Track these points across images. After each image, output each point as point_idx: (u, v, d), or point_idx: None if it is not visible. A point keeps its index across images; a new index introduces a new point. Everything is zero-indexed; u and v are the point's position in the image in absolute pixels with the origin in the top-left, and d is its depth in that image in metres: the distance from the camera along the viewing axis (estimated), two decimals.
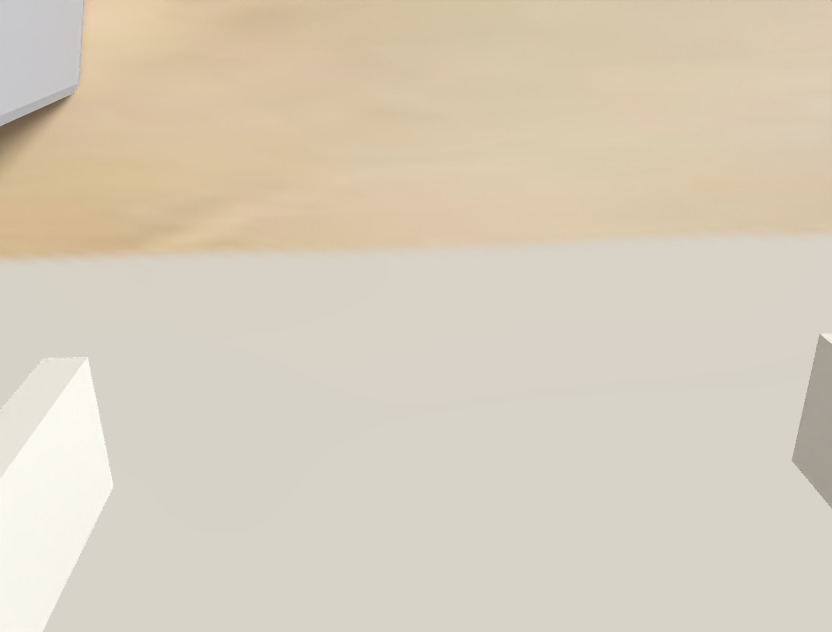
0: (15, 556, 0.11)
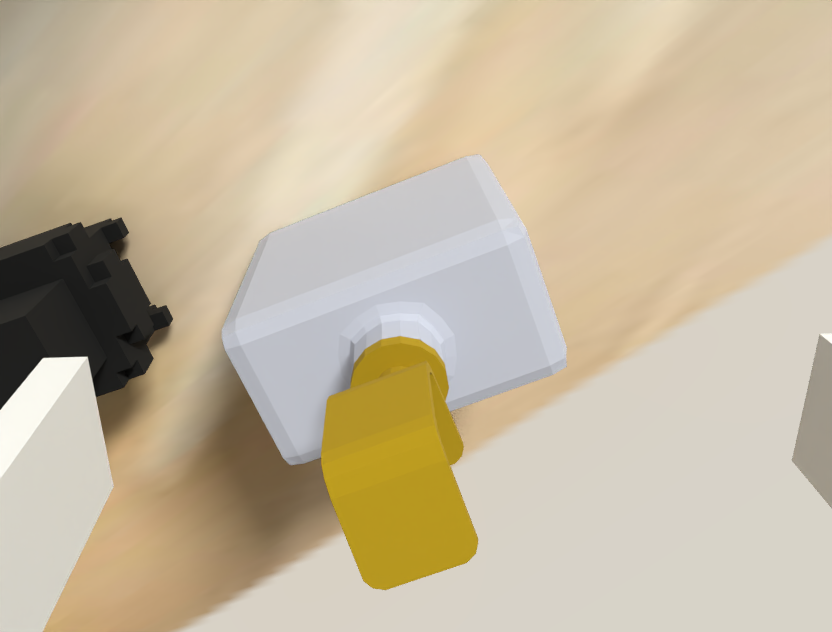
0: (15, 556, 0.11)
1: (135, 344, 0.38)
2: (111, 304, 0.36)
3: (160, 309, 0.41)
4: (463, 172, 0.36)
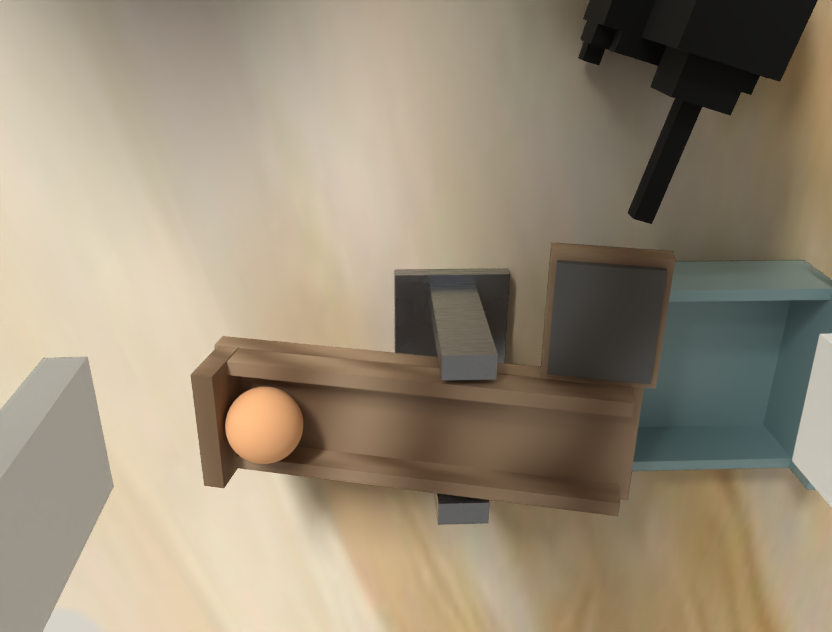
0: (15, 556, 0.11)
1: None
2: None
3: None
4: None
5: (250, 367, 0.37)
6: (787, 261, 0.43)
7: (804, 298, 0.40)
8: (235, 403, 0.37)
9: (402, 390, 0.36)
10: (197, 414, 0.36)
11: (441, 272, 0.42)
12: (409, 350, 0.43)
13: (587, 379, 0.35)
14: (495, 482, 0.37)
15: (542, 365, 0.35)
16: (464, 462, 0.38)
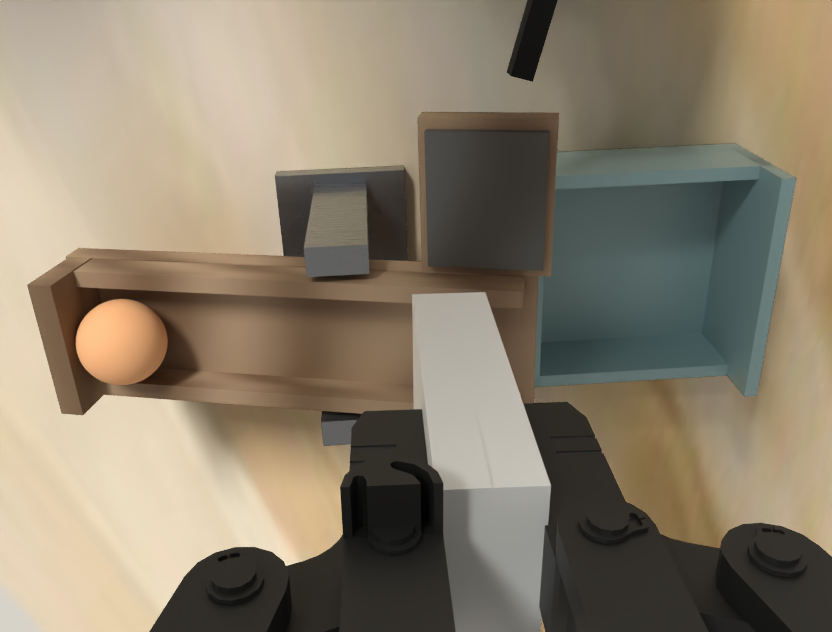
0: None
1: None
2: None
3: None
4: None
5: (99, 276, 0.33)
6: (716, 145, 0.38)
7: (729, 178, 0.35)
8: (84, 317, 0.33)
9: (267, 292, 0.31)
10: (41, 331, 0.32)
11: (327, 172, 0.37)
12: None
13: (474, 270, 0.31)
14: (383, 395, 0.33)
15: (423, 257, 0.31)
16: (351, 376, 0.34)
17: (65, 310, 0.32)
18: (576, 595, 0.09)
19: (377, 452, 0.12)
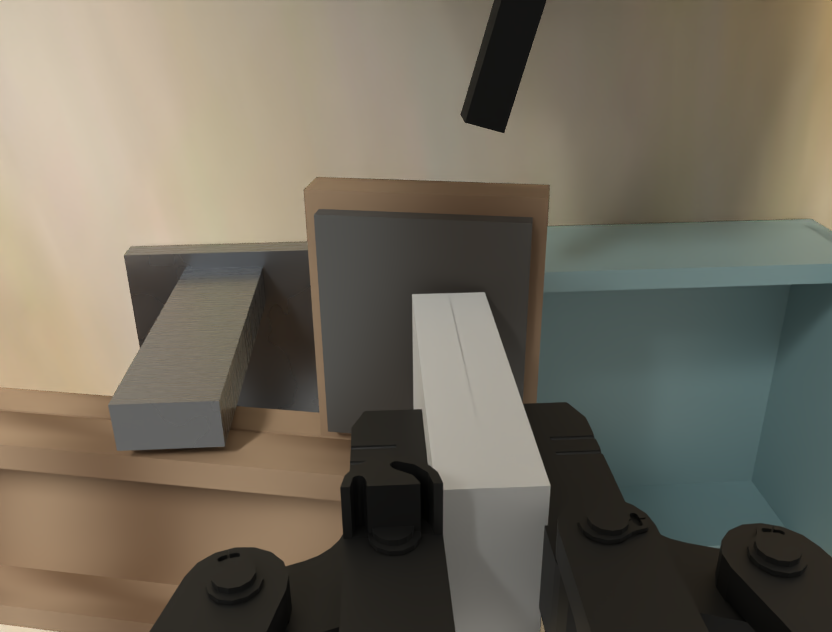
0: None
1: None
2: None
3: None
4: None
5: None
6: (784, 221, 0.26)
7: (814, 280, 0.23)
8: None
9: (60, 469, 0.19)
10: None
11: (205, 249, 0.25)
12: None
13: None
14: None
15: (322, 414, 0.19)
16: None
17: None
18: (576, 595, 0.09)
19: (377, 452, 0.12)
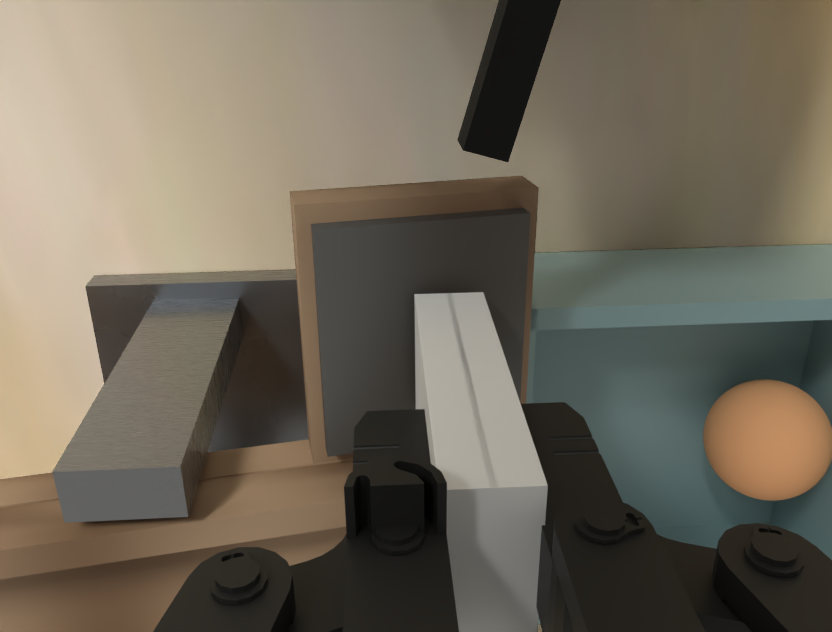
0: None
1: None
2: None
3: None
4: None
5: None
6: (809, 246, 0.24)
7: None
8: (820, 412, 0.23)
9: (19, 570, 0.16)
10: None
11: (176, 279, 0.23)
12: None
13: None
14: None
15: (314, 440, 0.18)
16: None
17: None
18: (573, 596, 0.09)
19: (380, 452, 0.12)
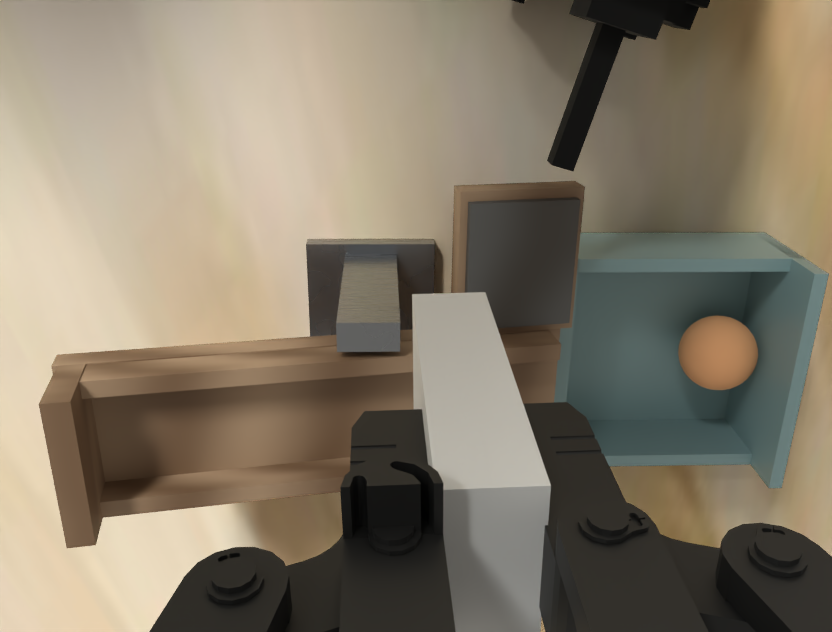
0: None
1: None
2: None
3: None
4: None
5: (113, 383, 0.29)
6: (746, 233, 0.39)
7: (760, 269, 0.35)
8: (748, 333, 0.37)
9: (312, 376, 0.30)
10: (51, 455, 0.28)
11: (358, 242, 0.38)
12: (326, 330, 0.39)
13: (504, 329, 0.33)
14: None
15: None
16: None
17: (79, 427, 0.28)
18: (576, 595, 0.09)
19: (377, 452, 0.12)
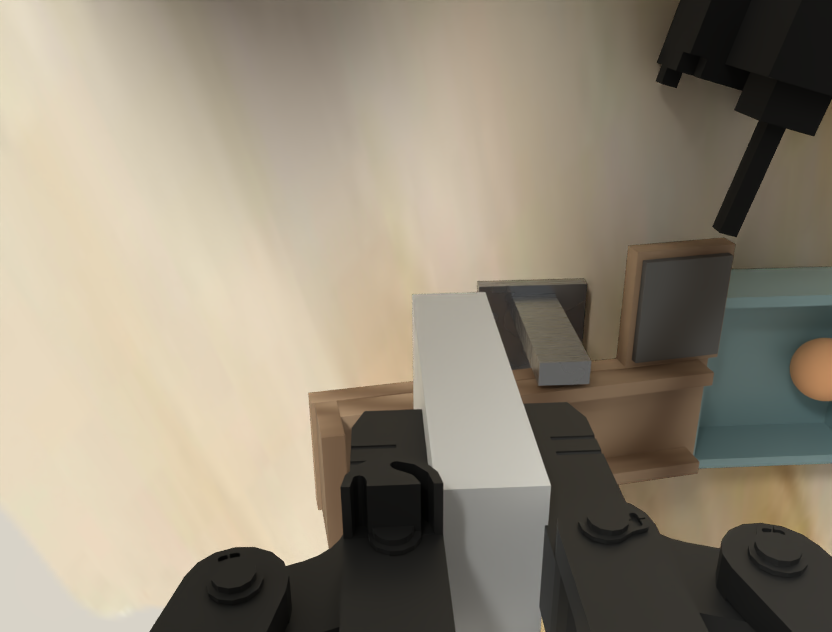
0: None
1: None
2: None
3: None
4: None
5: None
6: None
7: None
8: None
9: None
10: (326, 477, 0.35)
11: (522, 283, 0.44)
12: None
13: (664, 360, 0.40)
14: None
15: (627, 356, 0.39)
16: None
17: None
18: (576, 595, 0.09)
19: (377, 452, 0.12)
